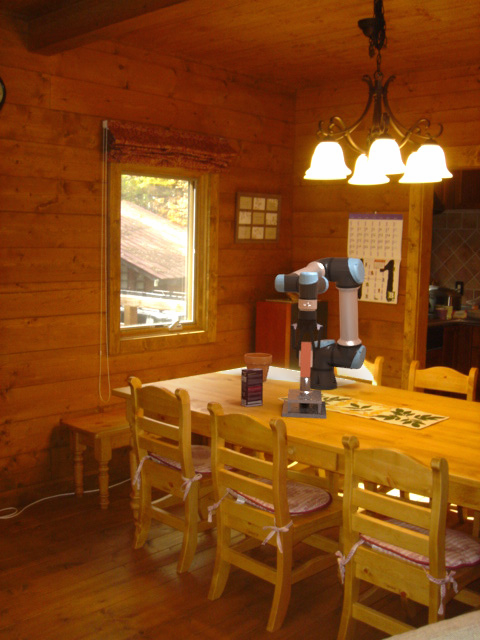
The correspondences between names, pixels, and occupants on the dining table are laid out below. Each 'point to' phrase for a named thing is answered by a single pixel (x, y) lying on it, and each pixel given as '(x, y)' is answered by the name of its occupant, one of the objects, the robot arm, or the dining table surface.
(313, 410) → the grey stand
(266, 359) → the flower pot
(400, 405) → the dining table surface
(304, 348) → the pink rectangular block
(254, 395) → the supplement box
